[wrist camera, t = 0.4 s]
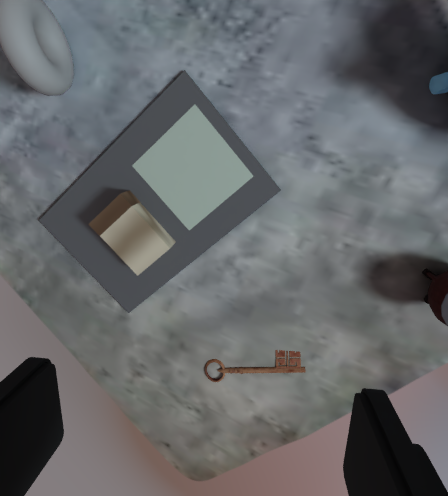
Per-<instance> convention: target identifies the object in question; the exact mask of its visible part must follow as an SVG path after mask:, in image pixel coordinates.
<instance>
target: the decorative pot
mask: <svg viewBox="0 0 448 496" xmlns="http://www.w3.org/2000/svg"><path fill="white" fill-rule="evenodd" d="M429 89H430V91H431V93H432V94H441V93H446V92H448V72H445V73H442V74H439V75H436V76H433V77H432V78H431V80H430V84H429Z"/></svg>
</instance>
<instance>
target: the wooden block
mask: <svg viewBox="0 0 448 496" xmlns="http://www.w3.org/2000/svg"><path fill="white" fill-rule="evenodd" d="M89 225H90V226H91V228H92V229H93V230H94V231H95V232H96V233H97V234H98V235H99V236H100V237H101V238H102V239H103V240H104V241H105V242H106V243H107V244H108V245H109V246H110V247H111V248H112V249H113V250H114V251H115V252H116V254H117V255H118V256H119V257H120V258H121V259H122V260H123V261H124V262H125V263H126V264H127V265H128V266H129V267H130V268H131V269H132V270H133V272H134V273H135V274H136V275H137V276H138V275H139V274H140V273H142V272H143V271H144V270H145V269H146V268H148V267H149V266H150V265H151V264H152V263H154V262H155V261H156V260H157V259H158V258H159V257H161V256H162V255H163V254H164V253H165V252H167V251H168V250H169V249H170V248H171V247H172V246H173V245H174V244H175V240H174V239H173V238H172V237H171V236H170V235H169V234H168V233H167V232H166V230H165V229H164V228H163V227H162V226H161V225H160V224H159V223H158V222H157V220H156V219H155V218H154V217H153V216H152V215H151V214H150V213H149V212H148V210H147V209H146V208H145V207H144V206H143V205H142V204H141V203H140V201H139V200H138V199H137V198H136V197H135V195H134V194H133V193H132V192H131V191H130V190H129V191H126V192H123V193H121V194H119V195H118V196H117V197H116V198H115V199H114V200H113V201H112V202H111V203H110V204H109V205H108V206H107V207H106V208H105V209H104V210H103V211H102V212H101V213H100V214H99V215H98V216H97V217H95V218H94V219H93V220H92V221H91V222H90V223H89Z"/></svg>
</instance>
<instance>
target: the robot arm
mask: <svg viewBox="0 0 448 496" xmlns="http://www.w3.org/2000/svg"><path fill="white" fill-rule="evenodd" d="M63 434H64V429H63V421H62V414H61V406H60V398H59V391H58V383H57V376H56V368H55V365H54V364H51V361H50V360H49V359H45V358H35V357H30V358H28V359H26V360H25V361H24V362H23V363H22V364H21V365H19V366H18V367H17V368H16V369H15V370H14V371H13V372H12V373H10V374H9V375H8V376H7V377H6V378H5V379H4V380H2V381H1V382H0V496H24V495H25V494H26V492H27V491H28V489H29V488H30V487H31V485H32V484H33V482H34V481H35V480H36V478H37V477H38V475H39V474H40V472H41V471H42V469H43V468H44V467H45V465H46V463H47V462H48V461H49V459H50V458H51V456H52V455H53V454H54V452H55V451H56V449H57V448H58V446H59V445H60V443H61V441H62V438H63ZM343 471H344V478H345V482H346V486H347V490H348V494H349V496H448V492H447V490H446V488H445V487H444V485H443V483H442V481H441V479H440V478H439V476H438V474H437V472H436V470H435V468H434V467H433V465H432V463H431V461H430V459H429V458H428V456H427V454H426V452H425V451H424V449H423V448H422V447H421V446H420V445H419V444H412V442H411V440H410V438H409V436H408V434H407V432H406V431H405V428H404V427H403V425H402V423H401V421H400V419H399V417H398V415H397V413H396V411H395V409H394V408H393V406H392V404H391V402H390V400H389V398H388V396H387V394H386V392H385V391H383V390H376V389H366V388H364V389H362V391H361V393H356V394H355V397H354V403H353V409H352V415H351V421H350V427H349V434H348V439H347V445H346V451H345V457H344V464H343Z"/></svg>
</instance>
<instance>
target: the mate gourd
mask: <svg viewBox="0 0 448 496" xmlns="http://www.w3.org/2000/svg"><path fill="white" fill-rule="evenodd" d="M422 273H423V274H424V275H425V276H426V277H428V278H429V279H431V280H432V282H431V284H430V287H429V290H428V294H427V295H426V297H425V298H424V301H425V302H426V303H427V304H429V305H430V307H431V309H432V311H433V313H434V315H435V316H436V317H437V319H438V320H440V321H441V322H442V323H444V324H445V325H447V326H448V271H446V272H444V273H442V274H440V275H435V274H434V273H432V272H431V271H429V270H428V269H425V270H424V271H423V272H422Z"/></svg>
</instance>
